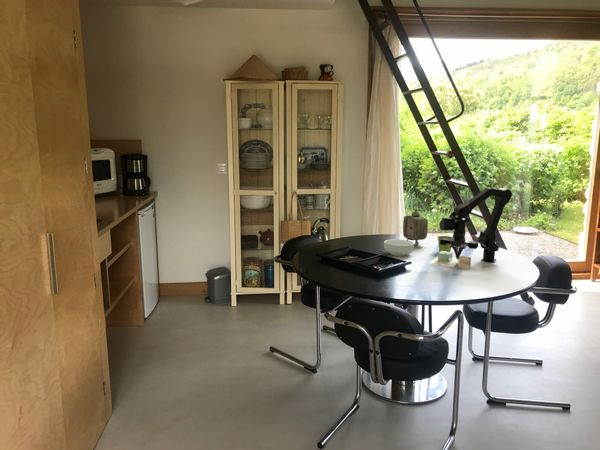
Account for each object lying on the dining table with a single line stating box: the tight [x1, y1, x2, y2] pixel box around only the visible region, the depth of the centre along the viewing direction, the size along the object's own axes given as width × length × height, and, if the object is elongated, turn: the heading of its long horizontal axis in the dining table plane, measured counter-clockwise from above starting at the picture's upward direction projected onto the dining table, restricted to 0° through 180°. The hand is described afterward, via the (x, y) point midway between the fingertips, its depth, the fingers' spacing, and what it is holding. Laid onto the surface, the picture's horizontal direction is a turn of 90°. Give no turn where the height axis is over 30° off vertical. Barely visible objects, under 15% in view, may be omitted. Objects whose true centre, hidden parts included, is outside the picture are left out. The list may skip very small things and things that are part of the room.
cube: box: [457, 255, 472, 270], centre depth 245 cm, size 5×5×5 cm
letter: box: [428, 256, 459, 268], centre depth 255 cm, size 18×13×1 cm
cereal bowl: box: [383, 238, 415, 257], centre depth 270 cm, size 17×17×7 cm
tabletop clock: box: [402, 203, 429, 248], centre depth 293 cm, size 14×9×25 cm, turn 17°
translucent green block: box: [437, 251, 454, 262], centre depth 258 cm, size 6×6×4 cm
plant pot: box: [436, 235, 453, 253], centre depth 275 cm, size 9×9×9 cm
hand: (457, 259), depth 254 cm, fingers closed
